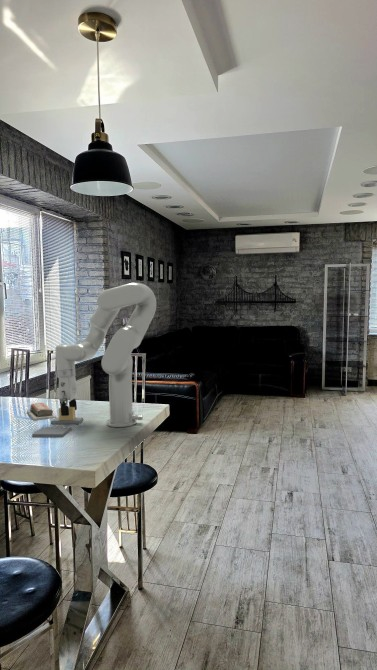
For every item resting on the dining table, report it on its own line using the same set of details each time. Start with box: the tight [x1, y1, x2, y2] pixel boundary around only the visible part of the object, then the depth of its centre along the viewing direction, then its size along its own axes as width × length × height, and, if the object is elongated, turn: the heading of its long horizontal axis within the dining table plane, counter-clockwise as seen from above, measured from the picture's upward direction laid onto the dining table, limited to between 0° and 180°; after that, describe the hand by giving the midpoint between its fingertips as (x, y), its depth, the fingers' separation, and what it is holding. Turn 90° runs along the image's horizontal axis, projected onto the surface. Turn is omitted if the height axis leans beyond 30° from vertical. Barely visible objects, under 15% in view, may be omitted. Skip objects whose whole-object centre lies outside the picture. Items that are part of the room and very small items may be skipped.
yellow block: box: [50, 406, 84, 425], centre depth 189 cm, size 12×6×6 cm, turn 85°
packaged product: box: [26, 402, 57, 422], centre depth 203 cm, size 18×5×10 cm
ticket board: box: [31, 426, 73, 438], centre depth 173 cm, size 12×10×1 cm
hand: (69, 412), depth 189 cm, fingers open, 9 cm apart
